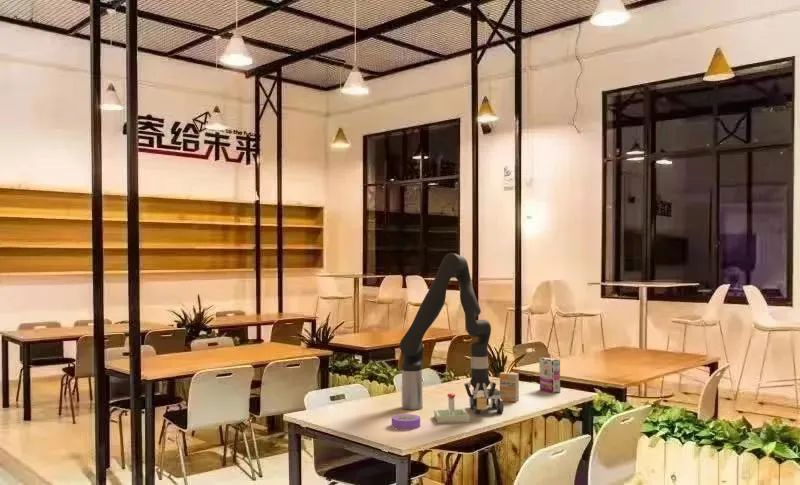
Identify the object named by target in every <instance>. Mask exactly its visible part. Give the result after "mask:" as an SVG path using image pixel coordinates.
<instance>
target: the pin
mask: <svg viewBox="0 0 800 485" xmlns="http://www.w3.org/2000/svg"><path fill="white" fill-rule="evenodd" d="M447 397H448V409H449V415H454V409H455V397H456V394H455V393H448V394H447Z"/></svg>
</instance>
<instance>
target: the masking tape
mask: <svg viewBox="0 0 800 485" xmlns="http://www.w3.org/2000/svg"><path fill="white" fill-rule="evenodd" d="M391 427H394V428H393V429H395V428H397V429H396V430H400V429H411V430H415V429H419V428H420V427H421V416H420V415H417V414H412V413H411V414H410V413H402V414H401V413H400V414H396V415H393V416H392V417H391Z"/></svg>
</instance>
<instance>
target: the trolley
mask: <svg viewBox="0 0 800 485" xmlns="http://www.w3.org/2000/svg"><path fill="white" fill-rule="evenodd" d="M476 391H477V390H476ZM487 392H488V394H489V392H490V388H487ZM471 394H472V395H473V389H471ZM477 396H485V395H484V392H483V391H482V390H480V391H478V393H477ZM468 398H469V399H468V400H469V402H468V403H469V406H470V409H473V410H474V414H476V415H477V414H481V411H482V409H480V410H478V409H477V408H476V407H474V406H473V398H471V397H468ZM489 400H490V404H491V407H492V409H493V408H495V409H496V413H500V414H501V413H504V401H503V400H502V399H501V395H500V389H498V388H495V390H494V393H493V396H492V397H489Z"/></svg>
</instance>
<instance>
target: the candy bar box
mask: <svg viewBox="0 0 800 485" xmlns="http://www.w3.org/2000/svg"><path fill="white" fill-rule="evenodd" d="M538 360H539V361H538V362H539V390H540V391H544V392H548V393H552V394H558V393H561V360H560V359H558V358H551V357H539V359H538Z"/></svg>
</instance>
